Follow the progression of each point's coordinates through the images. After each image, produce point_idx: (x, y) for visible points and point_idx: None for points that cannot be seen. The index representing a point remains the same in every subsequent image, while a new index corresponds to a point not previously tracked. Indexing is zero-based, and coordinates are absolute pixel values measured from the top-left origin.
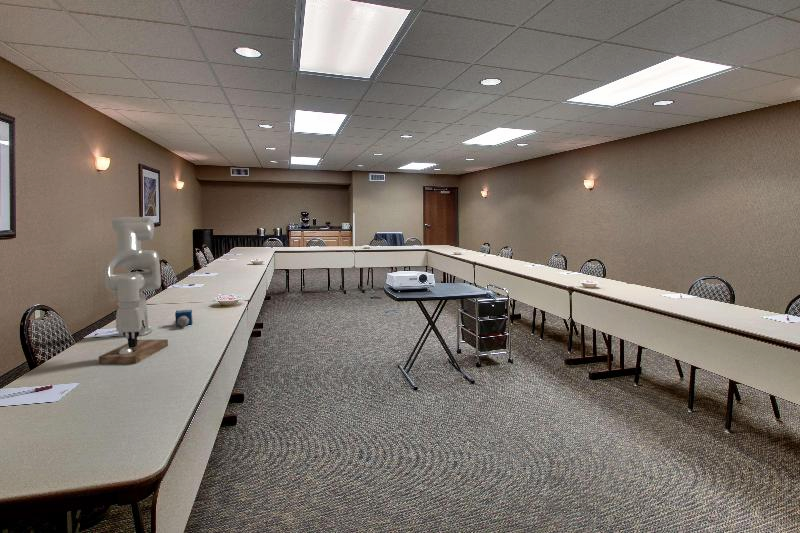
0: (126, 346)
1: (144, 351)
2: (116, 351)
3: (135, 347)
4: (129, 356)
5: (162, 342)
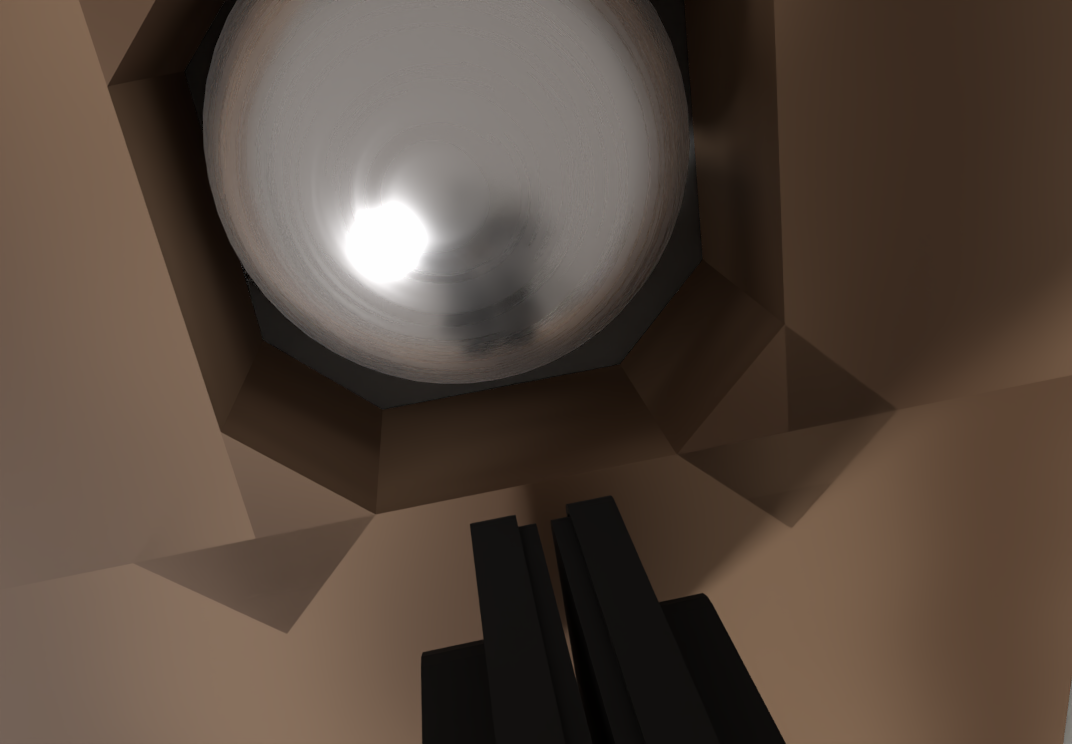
0: (904, 677)
1: None
2: (899, 202)
3: None
4: None
5: None
